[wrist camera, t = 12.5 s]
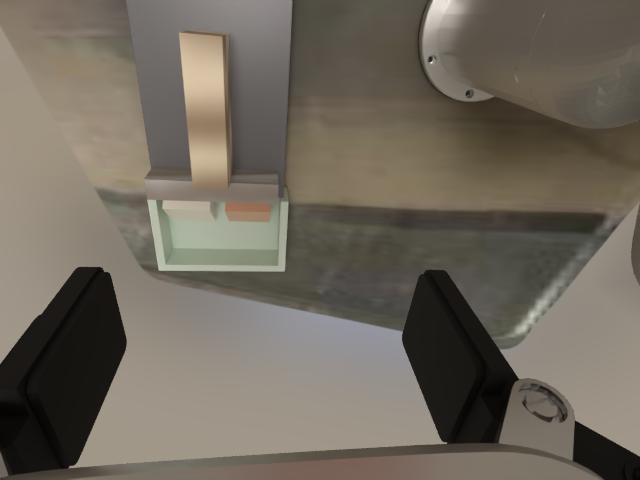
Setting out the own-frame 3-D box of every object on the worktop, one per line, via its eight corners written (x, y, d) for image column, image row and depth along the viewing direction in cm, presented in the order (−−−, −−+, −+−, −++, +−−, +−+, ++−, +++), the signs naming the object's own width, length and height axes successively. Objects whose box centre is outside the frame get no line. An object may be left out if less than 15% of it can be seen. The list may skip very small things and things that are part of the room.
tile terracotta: (225, 191, 37) (224, 211, 37) (270, 193, 38) (270, 212, 38) (229, 203, 42) (229, 221, 41) (269, 205, 42) (269, 222, 42)
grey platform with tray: (106, -176, 26) (81, -204, 23) (303, -143, 28) (308, -164, 25) (167, 250, 45) (158, 270, 41) (283, 252, 47) (284, 271, 43)
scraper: (133, 23, 30) (111, 25, 26) (282, 38, 32) (284, 42, 27) (157, 184, 37) (142, 206, 33) (277, 189, 39) (278, 211, 35)
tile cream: (163, 189, 37) (162, 208, 36) (210, 191, 37) (209, 210, 37) (174, 202, 41) (173, 220, 40) (216, 204, 42) (215, 221, 41)
